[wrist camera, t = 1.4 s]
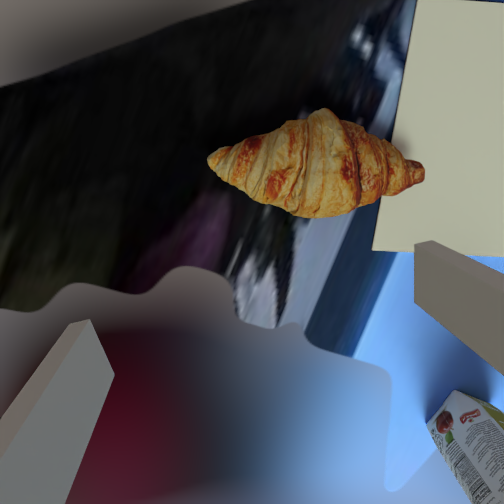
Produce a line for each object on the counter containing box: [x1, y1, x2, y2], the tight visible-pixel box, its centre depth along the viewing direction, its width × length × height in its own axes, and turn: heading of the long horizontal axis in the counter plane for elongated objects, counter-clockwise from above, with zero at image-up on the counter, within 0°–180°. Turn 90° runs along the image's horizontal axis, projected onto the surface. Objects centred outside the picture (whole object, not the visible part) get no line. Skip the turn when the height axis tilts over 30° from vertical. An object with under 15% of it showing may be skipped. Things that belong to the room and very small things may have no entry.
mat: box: [371, 0, 504, 257], centre depth 33 cm, size 16×24×1 cm, turn 177°
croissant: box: [207, 108, 425, 218], centre depth 31 cm, size 21×10×8 cm, turn 88°
